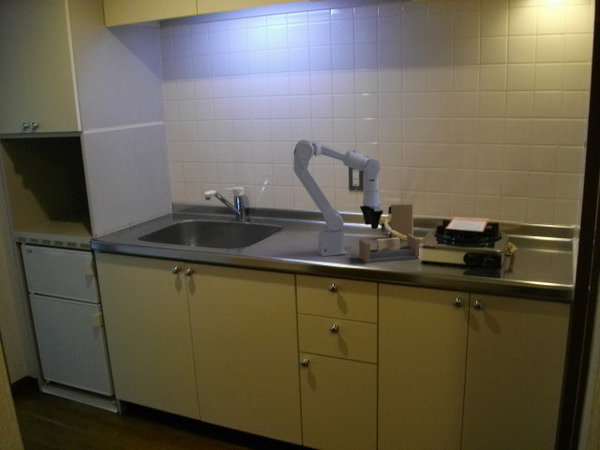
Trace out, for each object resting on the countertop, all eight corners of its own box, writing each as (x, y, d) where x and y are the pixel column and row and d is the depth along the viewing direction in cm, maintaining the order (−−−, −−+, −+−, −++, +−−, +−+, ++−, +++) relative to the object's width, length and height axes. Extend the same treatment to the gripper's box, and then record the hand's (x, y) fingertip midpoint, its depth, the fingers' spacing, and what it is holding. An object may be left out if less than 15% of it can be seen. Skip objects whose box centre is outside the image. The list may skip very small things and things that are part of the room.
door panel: (378, 256, 204) (378, 240, 203) (376, 255, 206) (376, 239, 205) (399, 254, 205) (399, 238, 204) (397, 253, 207) (397, 237, 206)
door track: (366, 263, 200) (365, 243, 199) (359, 257, 208) (359, 238, 206) (419, 258, 204) (419, 239, 202) (411, 252, 212) (411, 234, 210)
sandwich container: (414, 232, 243) (414, 197, 240) (412, 241, 228) (412, 204, 225) (393, 231, 245) (393, 197, 242) (390, 240, 230) (390, 204, 227)
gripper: (388, 193, 205) (388, 229, 208) (375, 187, 219) (375, 221, 222) (369, 194, 203) (369, 231, 206) (357, 188, 217) (357, 223, 220)
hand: (371, 226), depth 214 cm, fingers open, 7 cm apart
